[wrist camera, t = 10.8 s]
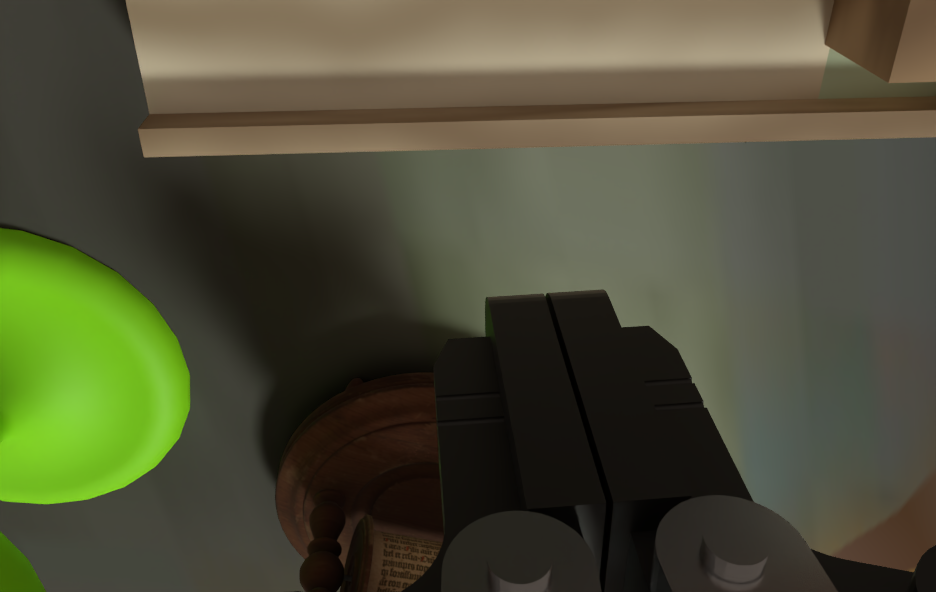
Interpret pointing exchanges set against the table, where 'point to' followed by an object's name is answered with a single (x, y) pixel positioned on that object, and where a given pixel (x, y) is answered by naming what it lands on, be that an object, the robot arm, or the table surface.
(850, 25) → the light brown block
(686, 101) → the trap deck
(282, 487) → the brown lantern
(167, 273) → the table surface
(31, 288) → the wineglass
